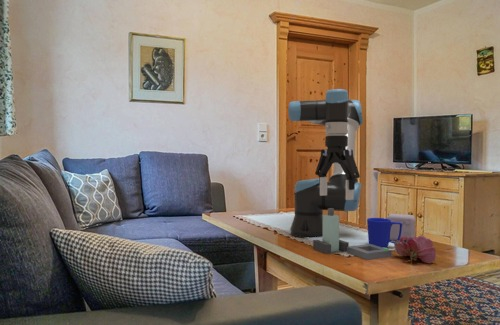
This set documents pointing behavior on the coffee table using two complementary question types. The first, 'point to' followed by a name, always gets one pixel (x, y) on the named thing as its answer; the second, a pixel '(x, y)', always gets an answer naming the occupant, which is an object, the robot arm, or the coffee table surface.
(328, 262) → the coffee table surface
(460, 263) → the coffee table surface
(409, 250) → the flower
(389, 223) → the mug
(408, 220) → the electronic device
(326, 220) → the plug
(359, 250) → the port
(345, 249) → the holster
